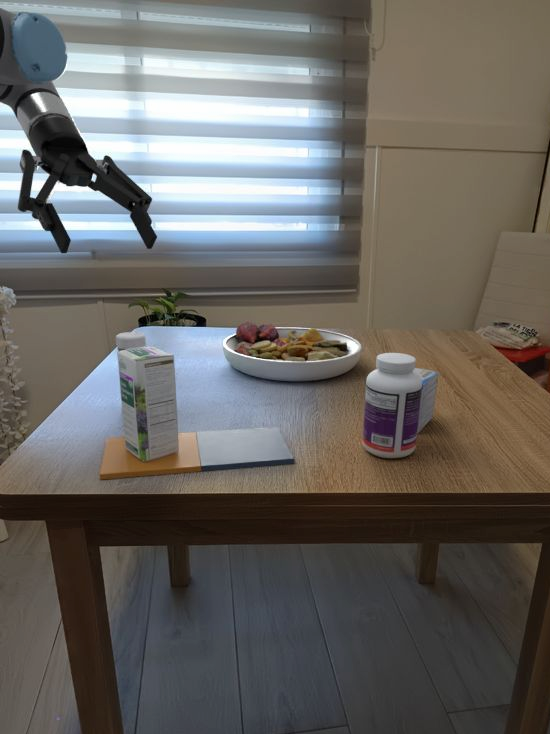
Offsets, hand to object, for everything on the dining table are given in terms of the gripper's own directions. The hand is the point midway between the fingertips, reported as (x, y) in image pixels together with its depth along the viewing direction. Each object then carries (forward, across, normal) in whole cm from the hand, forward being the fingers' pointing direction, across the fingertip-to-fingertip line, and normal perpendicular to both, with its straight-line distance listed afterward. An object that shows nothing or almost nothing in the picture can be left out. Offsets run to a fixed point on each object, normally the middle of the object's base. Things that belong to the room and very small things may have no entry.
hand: (111, 245), depth 85 cm
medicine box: (+43, -34, +4) cm, 55 cm away
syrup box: (+30, +5, -8) cm, 31 cm away
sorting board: (+33, 0, -6) cm, 33 cm away
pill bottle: (+46, -22, +7) cm, 51 cm away
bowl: (+16, -42, -23) cm, 50 cm away
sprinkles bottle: (+19, -2, -20) cm, 28 cm away
